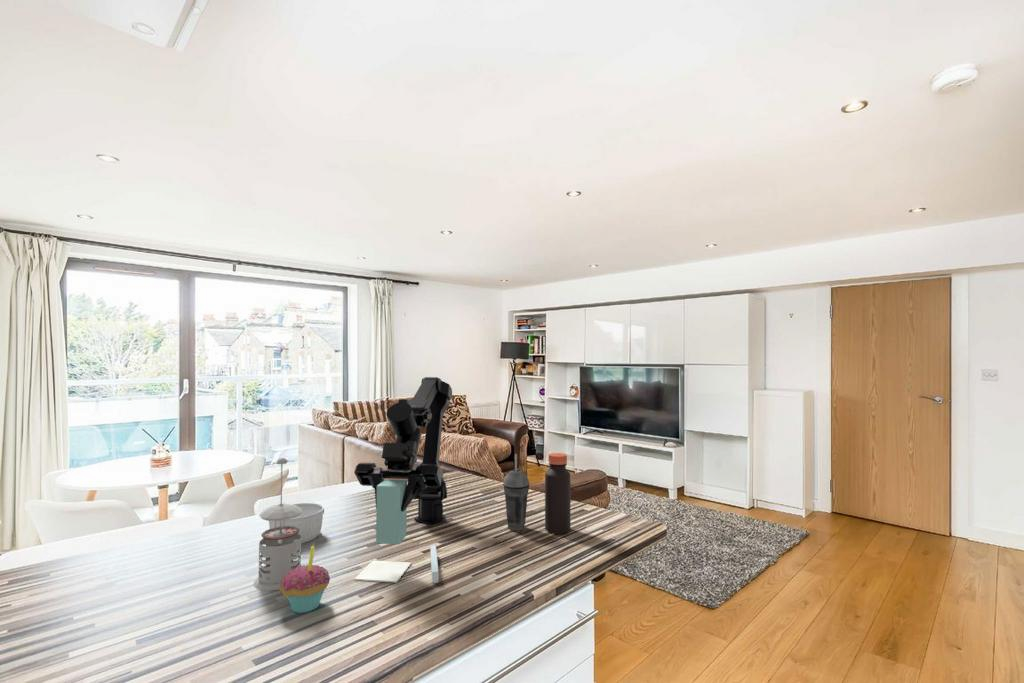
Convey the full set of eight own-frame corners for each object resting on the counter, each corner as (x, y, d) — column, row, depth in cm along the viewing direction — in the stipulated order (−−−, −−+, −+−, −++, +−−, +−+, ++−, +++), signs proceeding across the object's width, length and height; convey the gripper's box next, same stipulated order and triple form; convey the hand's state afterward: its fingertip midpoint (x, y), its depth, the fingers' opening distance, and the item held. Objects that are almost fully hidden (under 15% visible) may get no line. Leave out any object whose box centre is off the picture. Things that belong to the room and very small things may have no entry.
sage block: (384, 534, 106) (384, 479, 107) (406, 535, 106) (406, 480, 106) (376, 543, 101) (376, 486, 102) (399, 544, 101) (399, 486, 101)
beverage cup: (530, 524, 133) (530, 451, 134) (528, 533, 126) (528, 456, 127) (504, 523, 134) (504, 450, 135) (501, 532, 127) (501, 456, 127)
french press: (252, 595, 93) (255, 464, 94) (253, 571, 103) (255, 454, 104) (307, 584, 98) (309, 460, 99) (303, 562, 108) (305, 450, 109)
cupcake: (339, 601, 91) (340, 536, 91) (302, 623, 83) (303, 553, 84) (306, 591, 95) (307, 529, 95) (268, 612, 87) (269, 544, 87)
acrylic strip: (430, 555, 112) (430, 545, 112) (435, 554, 112) (435, 545, 112) (432, 582, 98) (432, 572, 98) (438, 582, 98) (438, 571, 99)
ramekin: (254, 542, 119) (255, 514, 120) (296, 525, 132) (297, 500, 132) (295, 551, 114) (295, 521, 115) (335, 532, 127) (335, 505, 127)
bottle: (571, 535, 125) (571, 457, 126) (545, 534, 125) (545, 457, 126) (569, 525, 132) (569, 452, 132) (544, 525, 132) (544, 452, 133)
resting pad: (372, 561, 108) (372, 560, 108) (411, 564, 107) (411, 562, 107) (354, 580, 99) (354, 578, 99) (396, 582, 98) (396, 581, 98)
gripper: (358, 426, 109) (335, 489, 98) (439, 428, 107) (426, 491, 96) (370, 454, 117) (351, 516, 105) (446, 456, 115) (435, 518, 104)
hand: (389, 510), depth 102 cm, fingers closed on sage block, 5 cm apart
